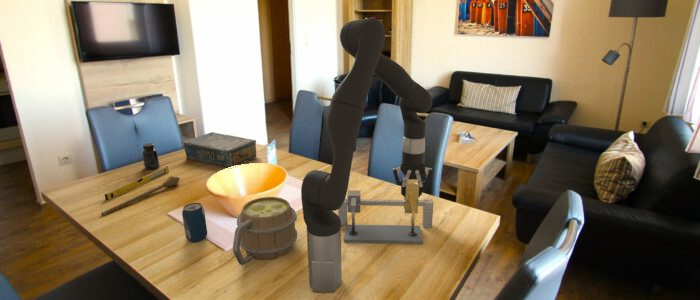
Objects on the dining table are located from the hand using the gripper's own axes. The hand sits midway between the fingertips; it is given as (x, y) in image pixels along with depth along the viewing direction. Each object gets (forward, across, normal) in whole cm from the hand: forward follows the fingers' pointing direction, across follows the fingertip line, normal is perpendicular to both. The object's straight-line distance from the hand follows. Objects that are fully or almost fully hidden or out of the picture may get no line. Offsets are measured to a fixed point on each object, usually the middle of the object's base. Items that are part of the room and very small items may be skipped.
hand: (411, 195), depth 142 cm
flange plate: (+12, -10, -7) cm, 17 cm away
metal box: (+12, -92, +69) cm, 116 cm away
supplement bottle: (+12, -122, +54) cm, 134 cm away
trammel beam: (+12, -9, -3) cm, 15 cm away
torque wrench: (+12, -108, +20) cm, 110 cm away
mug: (+12, -48, -18) cm, 53 cm away
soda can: (+12, -73, -11) cm, 75 cm away
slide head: (+10, 0, -3) cm, 11 cm away
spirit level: (+12, -117, +33) cm, 122 cm away
